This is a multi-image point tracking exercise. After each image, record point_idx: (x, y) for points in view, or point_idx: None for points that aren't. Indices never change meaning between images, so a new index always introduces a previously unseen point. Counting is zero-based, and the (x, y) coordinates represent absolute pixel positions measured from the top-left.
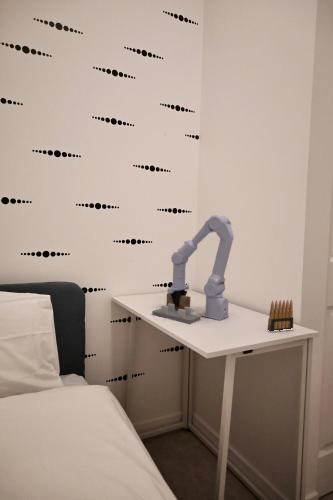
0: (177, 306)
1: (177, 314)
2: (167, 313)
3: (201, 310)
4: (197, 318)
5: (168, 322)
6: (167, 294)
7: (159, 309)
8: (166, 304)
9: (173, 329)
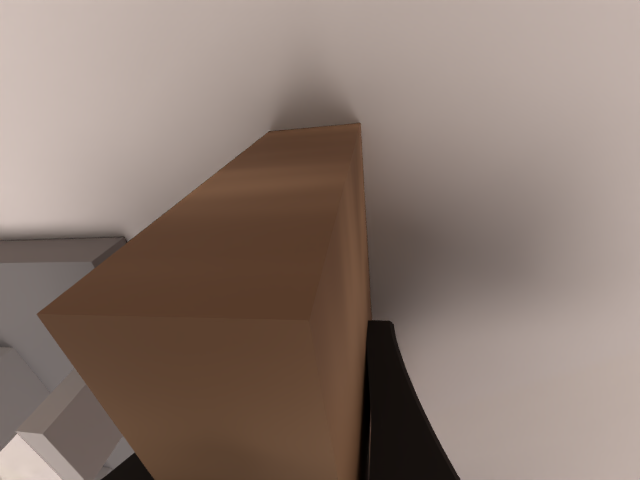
0: None
1: (116, 451)
2: (44, 397)
3: (509, 463)
4: None
5: None
6: (92, 318)
7: (4, 273)
8: (246, 149)
9: (19, 471)
